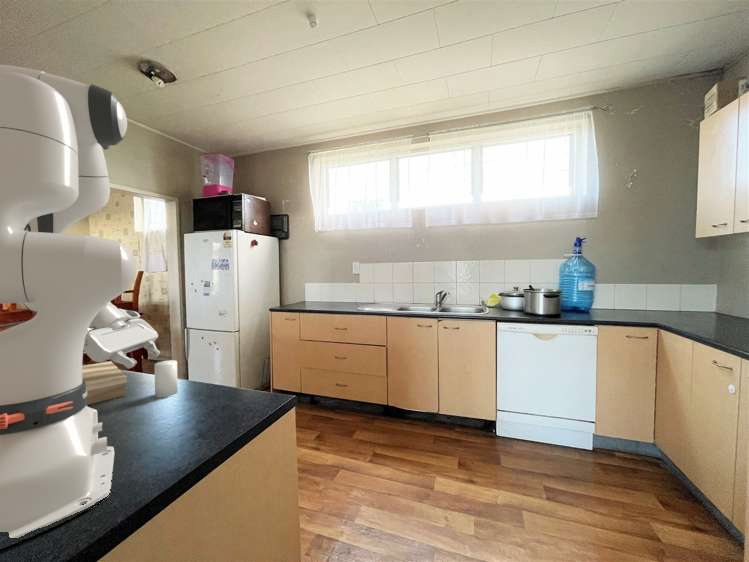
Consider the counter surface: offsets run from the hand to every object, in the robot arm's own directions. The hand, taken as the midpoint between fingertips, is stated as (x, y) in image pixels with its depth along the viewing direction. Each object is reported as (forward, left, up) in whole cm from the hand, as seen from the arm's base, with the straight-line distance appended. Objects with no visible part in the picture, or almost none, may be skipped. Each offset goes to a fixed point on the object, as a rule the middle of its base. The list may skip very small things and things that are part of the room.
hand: (145, 360), depth 81 cm
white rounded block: (-4, -4, -9) cm, 11 cm away
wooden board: (+14, +10, -9) cm, 20 cm away
